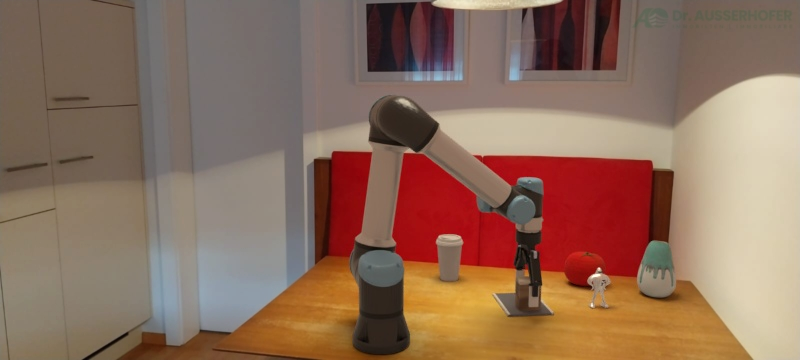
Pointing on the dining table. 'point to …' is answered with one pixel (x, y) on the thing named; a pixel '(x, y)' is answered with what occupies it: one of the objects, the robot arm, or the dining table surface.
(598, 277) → the figurine
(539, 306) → the block
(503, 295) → the mat
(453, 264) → the coffee cup
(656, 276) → the vase
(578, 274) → the tomato
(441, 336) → the dining table surface
